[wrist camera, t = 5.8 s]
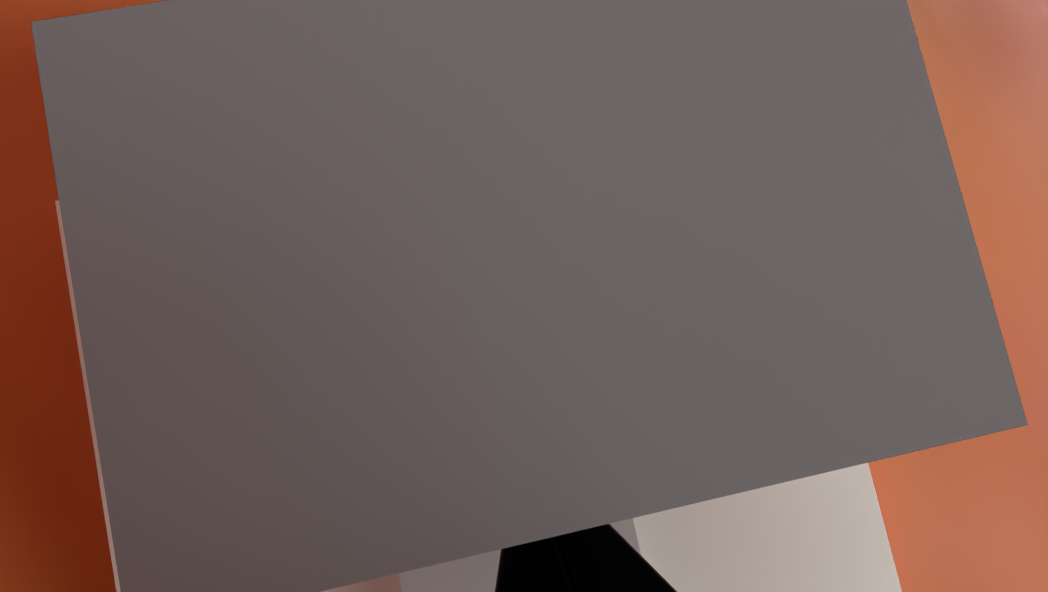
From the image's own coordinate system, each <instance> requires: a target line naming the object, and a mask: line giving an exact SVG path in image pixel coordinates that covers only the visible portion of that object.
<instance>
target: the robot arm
mask: <svg viewBox="0 0 1048 592" xmlns="http://www.w3.org/2000/svg"><path fill="white" fill-rule="evenodd" d="M495 592H677V591H676V590H675V589H674V588H673V587H672V586H671V585H670V584H669V583H668V582H667V581H666V580H665V579H664V578H663V577H662V576H661V575H660V574H659V573H658V572H657V571H656V570H655V569H654V568H653V567H652V566H651V565H650V564H649V563H648V562H647V561H646V560H645V559H644V558H643V557H642V556H641V555H640V554H639V553H638V552H637V551H636V550H635V549H634V548H633V547H632V546H631V545H630V544H629V543H628V542H627V541H626V540H625V539H624V538H623V537H622V536H621V535H620V534H619V533H618V532H617V531H616V530H615V529H614V528H613V527H612V526H611V525H610V524H605V525H601V526H597V527H593V528H588V529H584V530H580V531H576V532H572V533H567V534H563V535H559V536H555V537H550V538H546V539H542V540H538V541H533V542H529V543H525V544H521V545H516V546H512V547H508V548H504V549H501V552H500V559H499V566H498V573H497V580H496V586H495Z"/></svg>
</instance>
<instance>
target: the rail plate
mask: <svg viewBox="0 0 1048 592" xmlns="http://www.w3.org/2000/svg"><path fill="white" fill-rule="evenodd" d="M55 205H56V211H57V217H58V224H59V230H60V236H61V243H62V249H63V255H64V262H65V268H66V275H67V281H68V287H69V294H70V300H71V306H72V313H73V319H74V325H75V332H76V338H77V345H78V351H79V357H80V364H81V370H82V376H83V383H84V389H85V396H86V402H87V408H88V415H89V421H90V427H91V434H92V440H93V446H94V453H95V459H96V466H97V472H98V478H99V485H100V491H101V497H102V504H103V510H104V516H105V523H106V529H107V536H108V542H109V548H110V555H111V561H112V567H113V574H114V580H115V587H116V592H121V591H120V584H119V578H118V571H117V565H116V559H115V552H114V546H113V540H112V533H111V527H110V521H109V514H108V508H107V502H106V495H105V489H104V483H103V476H102V470H101V464H100V457H99V451H98V445H97V438H96V432H95V426H94V419H93V413H92V407H91V400H90V394H89V388H88V381H87V375H86V369H85V362H84V356H83V350H82V343H81V337H80V330H79V324H78V318H77V311H76V305H75V299H74V292H73V286H72V280H71V273H70V267H69V261H68V254H67V248H66V242H65V235H64V229H63V223H62V216H61V210H60V204H59V200H57V201H55ZM610 525H611V526H612V527H613V528H614V529H615V530H616V531H617V532H618V533H619V534H620V535H621V536H622V537H623V538H624V539H625V540H626V541H627V542H628V543H629V544H630V545H631V546H632V547H633V548H634V549H635V550H636V551H637V552H638V553H639V554H640V555H641V556H642V557H643V558H644V559H645V560H646V561H647V562H648V563H649V564H650V565H651V566H652V567H653V568H654V569H655V570H656V571H657V572H658V573H659V574H660V575H661V576H662V577H663V578H664V579H665V580H666V581H667V582H668V583H669V584H670V585H671V586H672V587H673V588H674V589H675V590H676V591H677V592H902V591H901V587H900V583H899V579H898V575H897V572H896V568H895V564H894V560H893V556H892V553H891V549H890V545H889V541H888V537H887V534H886V530H885V526H884V522H883V518H882V515H881V511H880V507H879V503H878V499H877V495H876V492H875V488H874V484H873V480H872V476H871V473H870V469H869V465H868V463H864V464H860V465H856V466H851V467H847V468H843V469H839V470H834V471H830V472H826V473H822V474H818V475H813V476H809V477H805V478H801V479H796V480H792V481H788V482H784V483H779V484H775V485H771V486H767V487H762V488H758V489H754V490H750V491H745V492H741V493H737V494H733V495H728V496H724V497H720V498H716V499H711V500H707V501H703V502H699V503H695V504H690V505H686V506H682V507H678V508H673V509H669V510H665V511H661V512H656V513H652V514H648V515H644V516H639V517H635V518H631V519H627V520H622V521H618V522H614V523H610ZM500 552H501V549H499V550H495V551H491V552H487V553H482V554H478V555H474V556H470V557H465V558H461V559H457V560H453V561H449V562H444V563H440V564H436V565H432V566H427V567H423V568H419V569H415V570H410V571H406V572H402V573H398V574H393V575H389V576H385V577H381V578H376V579H372V580H368V581H364V582H359V583H355V584H351V585H347V586H342V587H338V588H334V589H330V590H325V591H321V592H495V586H496V580H497V573H498V566H499V559H500Z"/></svg>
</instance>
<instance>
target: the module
mask: <svg viewBox="0 0 1048 592" xmlns="http://www.w3.org/2000/svg"><path fill="white" fill-rule="evenodd" d="M31 26H32V32H33V39H34V45H35V51H36V58H37V64H38V70H39V77H40V83H41V89H42V96H43V102H44V108H45V115H46V121H47V128H48V134H49V140H50V147H51V153H52V159H53V166H54V172H55V178H56V185H57V191H58V197H59V204H60V210H61V216H62V223H63V229H64V235H65V242H66V248H67V254H68V261H69V267H70V273H71V280H72V286H73V292H74V299H75V305H76V311H77V318H78V324H79V330H80V337H81V343H82V350H83V356H84V362H85V369H86V375H87V381H88V388H89V394H90V400H91V407H92V413H93V419H94V426H95V432H96V438H97V445H98V451H99V457H100V464H101V470H102V476H103V483H104V489H105V495H106V502H107V508H108V514H109V521H110V527H111V533H112V540H113V546H114V552H115V559H116V565H117V571H118V578H119V584H120V591H121V592H321V591H325V590H330V589H334V588H338V587H342V586H347V585H351V584H355V583H359V582H364V581H368V580H372V579H376V578H381V577H385V576H389V575H393V574H398V573H402V572H406V571H410V570H415V569H419V568H423V567H427V566H432V565H436V564H440V563H444V562H449V561H453V560H457V559H461V558H465V557H470V556H474V555H478V554H482V553H487V552H491V551H495V550H499V549H504V548H508V547H512V546H516V545H521V544H525V543H529V542H533V541H538V540H542V539H546V538H550V537H555V536H559V535H563V534H567V533H572V532H576V531H580V530H584V529H588V528H593V527H597V526H601V525H605V524H610V523H614V522H618V521H622V520H627V519H631V518H635V517H639V516H644V515H648V514H652V513H656V512H661V511H665V510H669V509H673V508H678V507H682V506H686V505H690V504H695V503H699V502H703V501H707V500H711V499H716V498H720V497H724V496H728V495H733V494H737V493H741V492H745V491H750V490H754V489H758V488H762V487H767V486H771V485H775V484H779V483H784V482H788V481H792V480H796V479H801V478H805V477H809V476H813V475H818V474H822V473H826V472H830V471H834V470H839V469H843V468H847V467H851V466H856V465H860V464H864V463H868V462H873V461H877V460H881V459H885V458H890V457H894V456H898V455H902V454H907V453H911V452H915V451H919V450H924V449H928V448H932V447H936V446H941V445H945V444H949V443H953V442H958V441H962V440H966V439H970V438H974V437H979V436H983V435H987V434H991V433H996V432H1000V431H1004V430H1008V429H1013V428H1017V427H1021V426H1025V425H1028V424H1027V420H1026V417H1025V413H1024V410H1023V406H1022V403H1021V399H1020V396H1019V392H1018V389H1017V385H1016V382H1015V378H1014V375H1013V371H1012V368H1011V364H1010V361H1009V357H1008V354H1007V350H1006V347H1005V343H1004V340H1003V336H1002V333H1001V329H1000V326H999V322H998V319H997V315H996V312H995V308H994V305H993V301H992V298H991V295H990V291H989V288H988V284H987V281H986V277H985V274H984V270H983V267H982V263H981V260H980V256H979V253H978V249H977V246H976V242H975V239H974V235H973V232H972V228H971V225H970V221H969V218H968V214H967V211H966V207H965V204H964V200H963V197H962V193H961V190H960V186H959V183H958V179H957V176H956V172H955V169H954V165H953V162H952V158H951V155H950V151H949V148H948V144H947V141H946V137H945V134H944V130H943V127H942V123H941V120H940V116H939V113H938V109H937V106H936V102H935V99H934V95H933V92H932V88H931V85H930V81H929V78H928V74H927V71H926V68H925V64H924V61H923V57H922V54H921V50H920V47H919V43H918V40H917V36H916V33H915V29H914V26H913V22H912V19H911V15H910V12H909V8H908V5H907V1H906V0H167V1H161V2H154V3H148V4H142V5H135V6H129V7H122V8H116V9H110V10H103V11H97V12H91V13H84V14H78V15H71V16H65V17H59V18H52V19H46V20H39V21H33V22H31Z"/></svg>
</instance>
